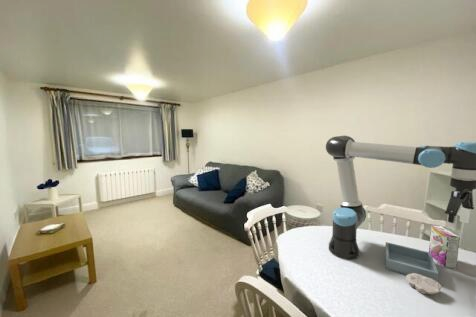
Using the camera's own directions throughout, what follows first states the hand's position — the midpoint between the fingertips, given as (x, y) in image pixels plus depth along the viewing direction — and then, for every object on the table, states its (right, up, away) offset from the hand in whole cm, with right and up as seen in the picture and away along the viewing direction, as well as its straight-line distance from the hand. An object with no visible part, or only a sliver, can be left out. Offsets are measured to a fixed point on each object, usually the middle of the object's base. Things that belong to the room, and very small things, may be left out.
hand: (457, 225), depth 87 cm
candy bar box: (+7, -23, +13) cm, 27 cm away
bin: (-12, -23, +11) cm, 29 cm away
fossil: (-18, -26, -4) cm, 32 cm away
